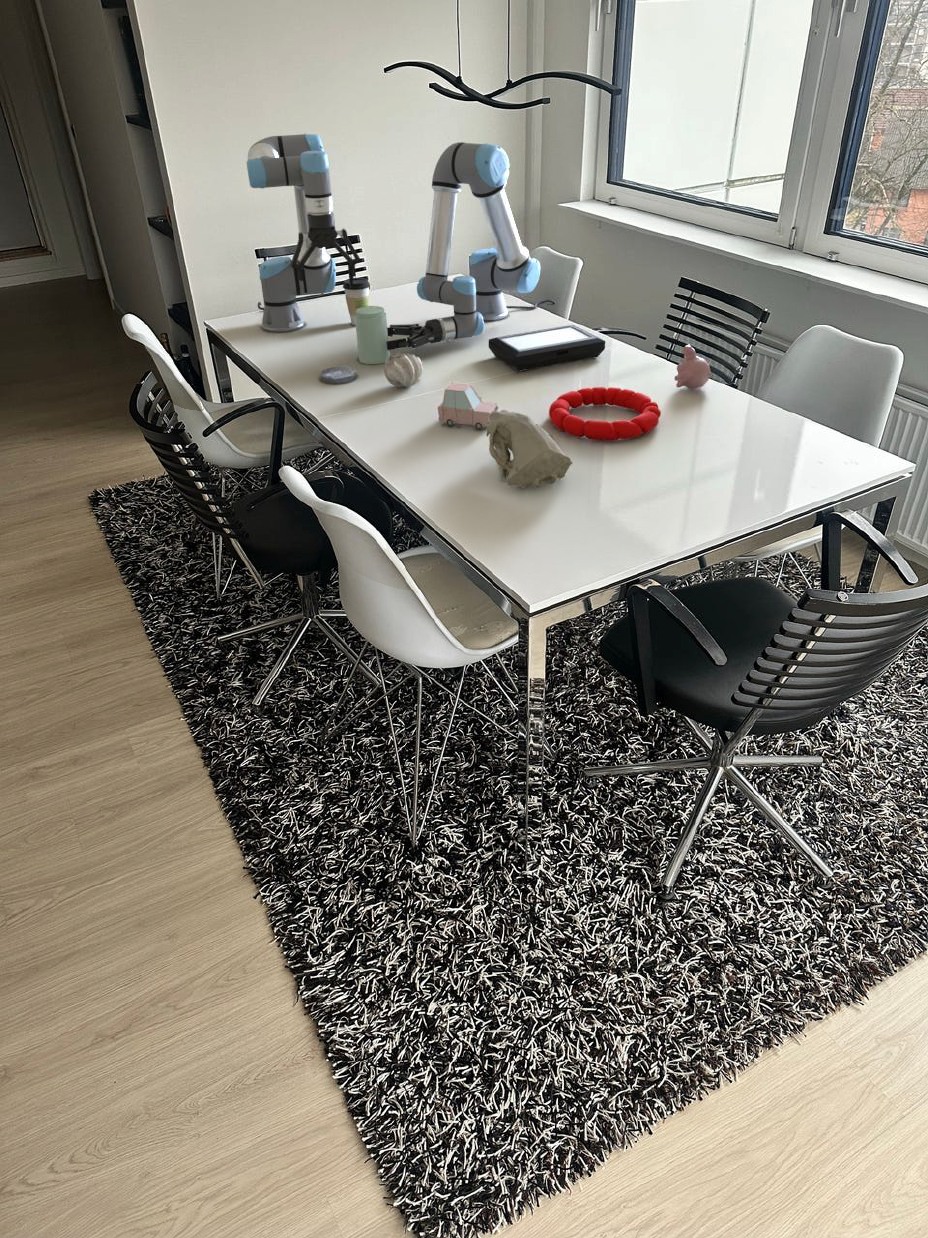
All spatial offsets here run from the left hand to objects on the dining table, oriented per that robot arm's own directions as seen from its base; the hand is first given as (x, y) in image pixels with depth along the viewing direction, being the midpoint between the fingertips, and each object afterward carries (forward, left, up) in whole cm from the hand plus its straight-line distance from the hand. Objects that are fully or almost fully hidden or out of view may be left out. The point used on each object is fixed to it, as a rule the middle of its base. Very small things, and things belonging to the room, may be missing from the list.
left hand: (328, 289), depth 264 cm
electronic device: (-2, +68, -27) cm, 73 cm away
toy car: (+47, +33, -27) cm, 63 cm away
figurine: (+37, +101, -27) cm, 111 cm away
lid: (0, 0, -25) cm, 25 cm away
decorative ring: (+55, +69, -27) cm, 92 cm away
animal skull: (+79, +40, -27) cm, 93 cm away
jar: (-15, +13, -27) cm, 33 cm away
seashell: (+13, +20, -27) cm, 36 cm away
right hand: (-16, +15, -21) cm, 30 cm away
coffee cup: (-57, +11, -27) cm, 64 cm away
